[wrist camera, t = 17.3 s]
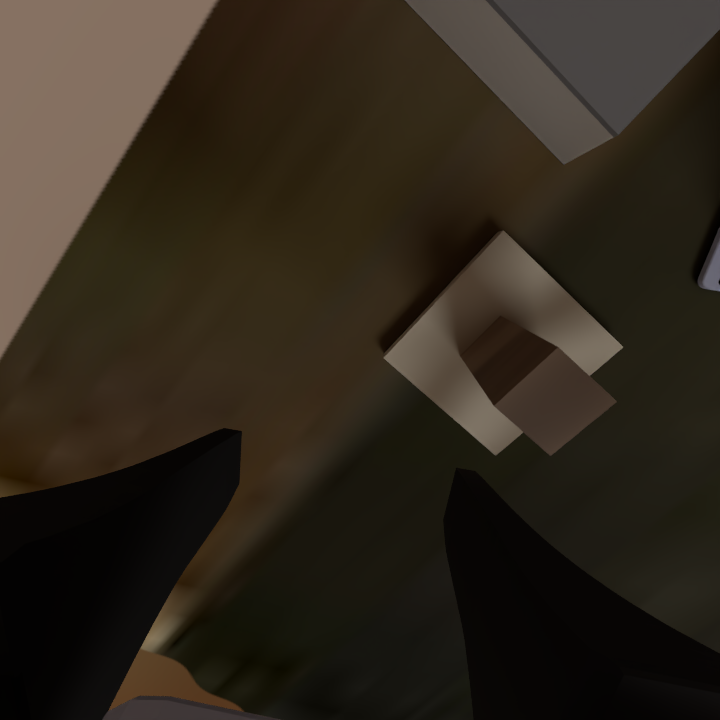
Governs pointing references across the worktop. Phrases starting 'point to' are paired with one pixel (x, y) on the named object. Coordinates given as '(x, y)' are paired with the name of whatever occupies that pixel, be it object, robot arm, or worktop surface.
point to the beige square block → (474, 315)
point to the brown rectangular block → (535, 384)
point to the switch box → (573, 58)
